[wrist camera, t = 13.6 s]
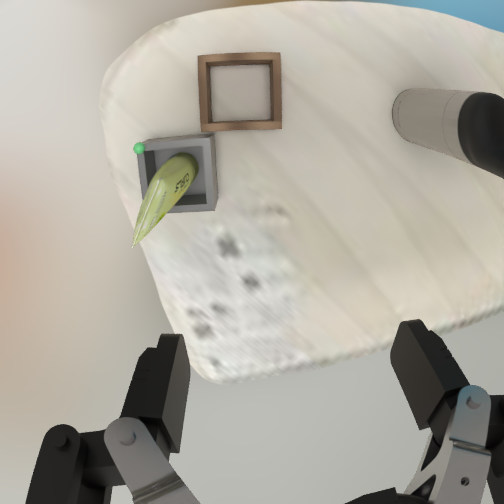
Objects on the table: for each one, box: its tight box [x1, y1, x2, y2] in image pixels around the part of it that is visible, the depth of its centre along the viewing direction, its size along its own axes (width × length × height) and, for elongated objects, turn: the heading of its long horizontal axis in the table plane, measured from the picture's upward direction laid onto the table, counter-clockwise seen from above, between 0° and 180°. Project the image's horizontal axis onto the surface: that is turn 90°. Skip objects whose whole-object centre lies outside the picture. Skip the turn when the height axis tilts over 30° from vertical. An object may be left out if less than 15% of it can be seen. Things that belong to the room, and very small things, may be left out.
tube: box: [132, 152, 199, 248], centre depth 35 cm, size 6×5×20 cm
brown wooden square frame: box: [198, 52, 282, 132], centre depth 38 cm, size 10×10×5 cm
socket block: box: [133, 134, 218, 213], centre depth 42 cm, size 10×10×7 cm
